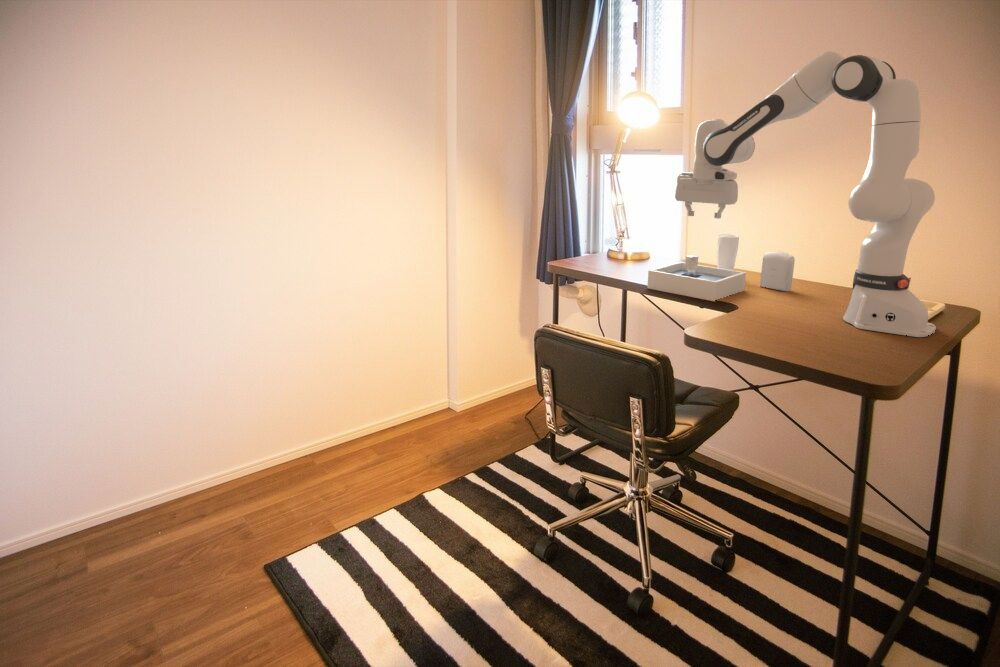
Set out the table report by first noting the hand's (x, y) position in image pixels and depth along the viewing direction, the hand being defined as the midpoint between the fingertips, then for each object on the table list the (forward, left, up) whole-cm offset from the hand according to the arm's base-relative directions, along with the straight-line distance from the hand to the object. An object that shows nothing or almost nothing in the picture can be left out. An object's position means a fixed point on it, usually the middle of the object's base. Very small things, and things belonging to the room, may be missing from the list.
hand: (703, 217), depth 229 cm
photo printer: (-19, -17, -24) cm, 35 cm away
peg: (+3, 0, -23) cm, 23 cm away
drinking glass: (0, -19, -23) cm, 30 cm away
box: (-1, +3, -23) cm, 23 cm away
